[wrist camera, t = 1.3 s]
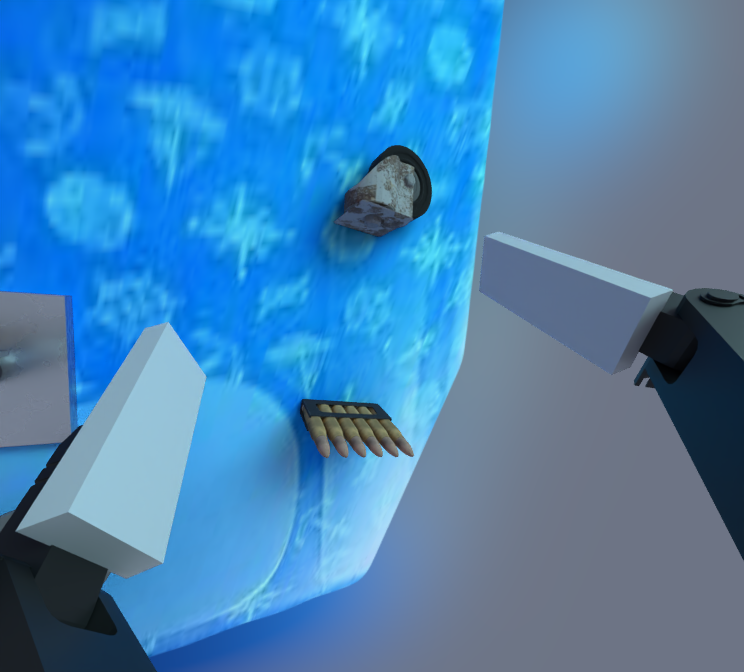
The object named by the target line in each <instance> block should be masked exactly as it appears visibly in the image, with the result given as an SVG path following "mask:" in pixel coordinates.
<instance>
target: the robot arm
mask: <svg viewBox="0 0 744 672" xmlns="http://www.w3.org/2000/svg"><path fill="white" fill-rule="evenodd" d="M479 291H480V292H481V293H483V294H485V295H486V296H488V297H489V298H491V299H493V300H494V301H496V302H497V303H499V304H500V305H502V306H504V307H505V308H507V309H508V310H510V311H512V312H513V313H515V314H516V315H518V316H519V317H521V318H522V319H524V320H526V321H527V322H529V323H530V324H532V325H534V326H535V327H537V328H538V329H540V330H541V331H543V332H545V333H546V334H548V335H549V336H551V337H552V338H554V339H556V340H557V341H559V342H560V343H562V344H564V345H565V346H567V347H568V348H570V349H571V350H573V351H575V352H576V353H578V354H579V355H581V356H583V357H584V358H586V359H587V360H589V361H590V362H592V363H594V364H595V365H597V366H598V367H600V368H601V369H603V370H605V371H606V372H608V373H609V374H611V375H613V374H615V373H617V372H620V371H622V370H625V369H627V368H629V367H631V365H632V363H633V361H634V360H635V358H636V356H637V354H638V352H641V353H643V354H645V355H647V356H648V358H647V359H646V361H645V363H644V365H643V366H642V368H641V370H640V371H639V373H638V375H637V377H636V378H635V380H634V384H635V385H636V386H639V385H640V384H641V382H642V380H643V378H649V377H650V379H649V380H648V382H647V384H646V387H650V388H655V389H656V391H657V392H658V395H659V396H660V398H661V400H662V402H663V404H664V406H665V408H666V410H667V412H668V414H669V416H670V418H671V420H672V422H673V424H674V426H675V427H676V430H677V431H678V433H679V435H680V437H681V439H682V441H683V443H684V445H685V447H686V449H687V451H688V453H689V455H690V456H691V459H692V461H693V463H694V465H695V467H696V469H697V471H698V473H699V474H700V476H701V478H702V480H703V482H704V484H705V486H706V488H707V490H708V492H709V494H710V496H711V498H712V500H713V502H714V504H715V506H716V508H717V510H718V511H719V513H720V515H721V517H722V519H723V521H724V523H725V525H726V527H727V529H728V531H729V533H730V535H731V537H732V539H733V541H734V543H735V545H736V547H737V549H738V550H739V552H740V554H741V556H742V558H743V560H744V295H742V294H737V293H734V292H729V291H726V290H720V289H709V288H702V289H693V290H689V291H688V292H687V293H686V294H685V295H684V296H683V295H680V294H677V293H674V292H672V291H673V290H672V289H669V288H666V287H663V286H660V285H657V284H654V283H651V282H648V281H645V280H642V279H639V278H636V277H633V276H630V275H627V274H624V273H621V272H618V271H615V270H612V269H609V268H606V267H603V266H600V265H597V264H594V263H591V262H588V261H585V260H582V259H579V258H576V257H573V256H570V255H567V254H564V253H561V252H558V251H555V250H552V249H549V248H546V247H543V246H540V245H537V244H534V243H531V242H528V241H525V240H522V239H519V238H516V237H513V236H511V235H507V234H504V233H502V232H497V233H493V234H489V235H486V236H484V246H483V258H482V267H481V278H480V288H479ZM205 380H206V376H205V374H204V373H203V371H202V370H201V368H200V367H199V366H198V364H197V363H196V361H195V360H194V358H193V357H192V355H191V354H190V353H189V351H188V350H187V348H186V347H185V345H184V344H183V342H182V341H181V340H180V338H179V337H178V335H177V334H176V332H175V331H174V329H173V328H172V327H171V325H170V324H169V322H167V323H163V324H159V325H156V326H152V327H148V328H145V329H144V331H143V332H142V334H141V336H140V337H139V339H138V340H137V342H136V343H135V345H134V346H133V348H132V350H131V351H130V353H129V354H128V356H127V357H126V359H125V361H124V362H123V364H122V365H121V367H120V368H119V370H118V371H117V373H116V375H115V376H114V378H113V379H112V381H111V382H110V384H109V386H108V387H107V389H106V390H105V392H104V393H103V395H102V397H101V398H100V400H99V401H98V403H97V404H96V406H95V407H94V409H93V411H92V412H91V414H90V415H89V417H88V418H87V420H86V422H85V423H84V425H81V426H79V427H78V428H77V429H76V430H75V431H73V432H72V433H71V434H70V435H69V436H68V437H67V438H66V439H65V440H64V441H63V442H62V443H61V444H60V445H59V446H58V448H57V449H56V451H55V452H54V454H53V455H52V457H51V458H50V459H49V461H48V462H47V464H46V466H47V467H46V468H44V469H43V470H42V471H41V473H40V474H39V476H38V477H37V479H36V480H35V485H33V486H31V487H30V489H29V490H28V492H27V493H26V495H25V496H24V498H23V499H22V501H21V502H20V504H19V505H18V507H17V508H16V510H15V511H14V513H13V514H12V516H11V517H10V518H9V520H8V521H7V523H6V524H5V526H4V527H3V529H2V530H1V532H0V672H157V671H156V670H155V668H154V666H153V664H152V663H151V661H150V660H149V658H148V656H147V654H146V653H145V651H144V649H143V648H142V646H141V644H140V643H139V641H138V639H137V638H136V636H135V634H134V633H133V631H132V629H131V628H130V626H129V624H128V623H127V621H126V619H125V618H124V616H123V615H122V613H121V611H120V610H119V608H118V606H117V605H116V603H115V601H114V600H113V598H112V596H111V595H109V594H108V593H106V592H105V591H103V590H101V588H102V585H103V582H104V579H105V577H106V574H107V571H109V572H112V573H114V574H117V575H119V576H121V577H124V578H126V579H127V578H129V577H131V576H134V575H136V574H139V573H141V572H143V571H146V570H148V569H150V568H153V567H155V566H158V565H160V564H162V563H163V562H164V557H165V553H166V549H167V544H168V540H169V536H170V531H171V527H172V523H173V518H174V514H175V510H176V506H177V501H178V497H179V493H180V488H181V484H182V480H183V475H184V471H185V467H186V462H187V458H188V454H189V449H190V445H191V441H192V436H193V432H194V428H195V423H196V419H197V415H198V410H199V406H200V402H201V397H202V393H203V389H204V384H205Z"/></svg>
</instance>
